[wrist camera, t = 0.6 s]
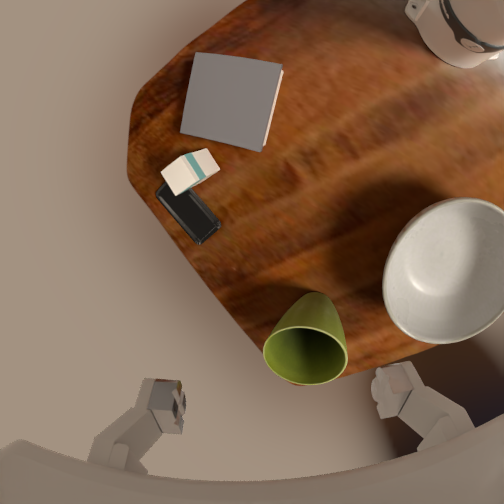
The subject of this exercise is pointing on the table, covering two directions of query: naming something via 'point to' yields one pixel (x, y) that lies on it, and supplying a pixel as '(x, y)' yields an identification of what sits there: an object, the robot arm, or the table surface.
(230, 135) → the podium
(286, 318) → the flower pot
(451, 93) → the table surface
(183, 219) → the phone
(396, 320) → the decorative bowl
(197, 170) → the carton
